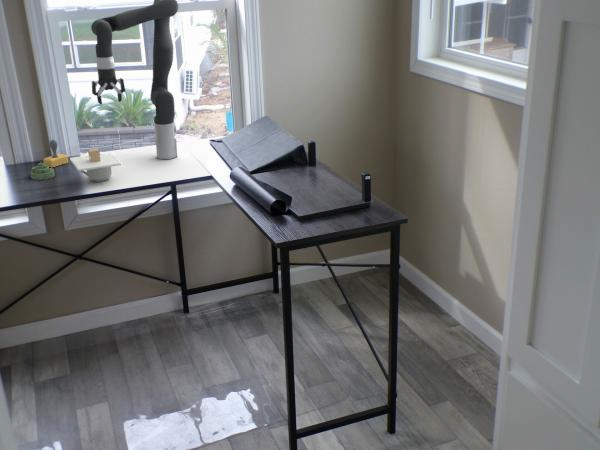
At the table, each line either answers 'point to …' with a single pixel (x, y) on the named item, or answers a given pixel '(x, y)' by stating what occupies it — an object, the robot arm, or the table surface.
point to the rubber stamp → (55, 156)
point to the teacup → (98, 174)
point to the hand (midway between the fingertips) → (110, 102)
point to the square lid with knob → (94, 160)
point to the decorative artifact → (42, 172)
